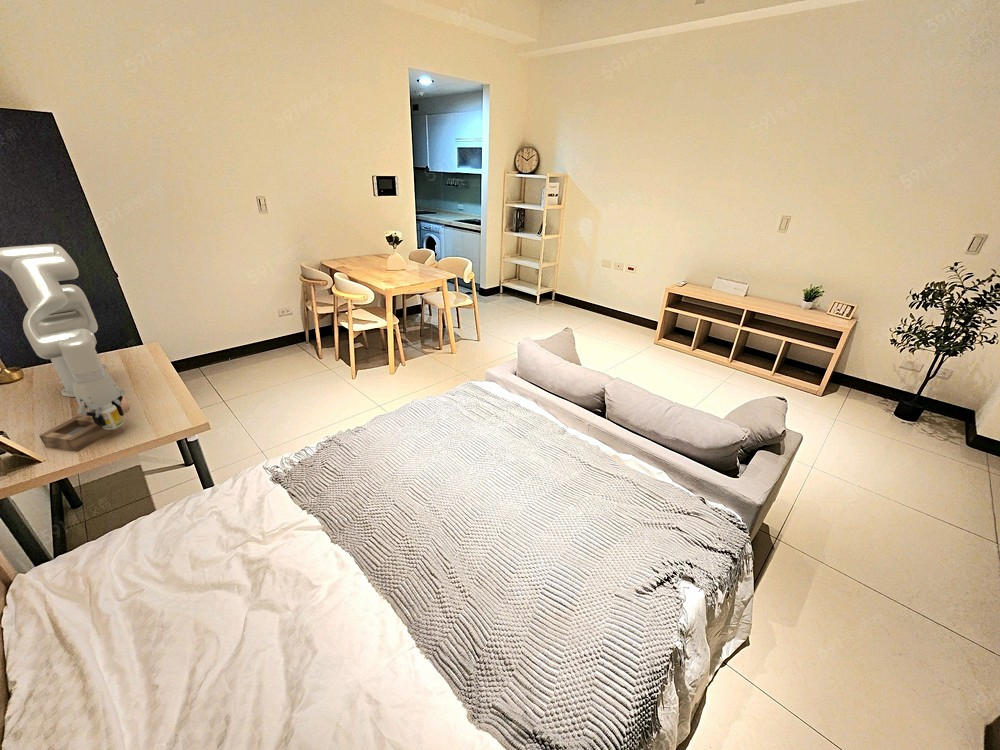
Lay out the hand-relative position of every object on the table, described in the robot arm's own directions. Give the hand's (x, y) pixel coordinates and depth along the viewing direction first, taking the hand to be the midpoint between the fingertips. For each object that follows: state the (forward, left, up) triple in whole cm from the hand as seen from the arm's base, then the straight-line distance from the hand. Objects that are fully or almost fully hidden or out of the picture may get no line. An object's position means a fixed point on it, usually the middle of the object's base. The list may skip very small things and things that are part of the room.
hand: (110, 419), depth 142 cm
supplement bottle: (0, 0, -3) cm, 3 cm away
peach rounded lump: (-12, +12, -6) cm, 18 cm away
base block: (-8, -5, -6) cm, 12 cm away
